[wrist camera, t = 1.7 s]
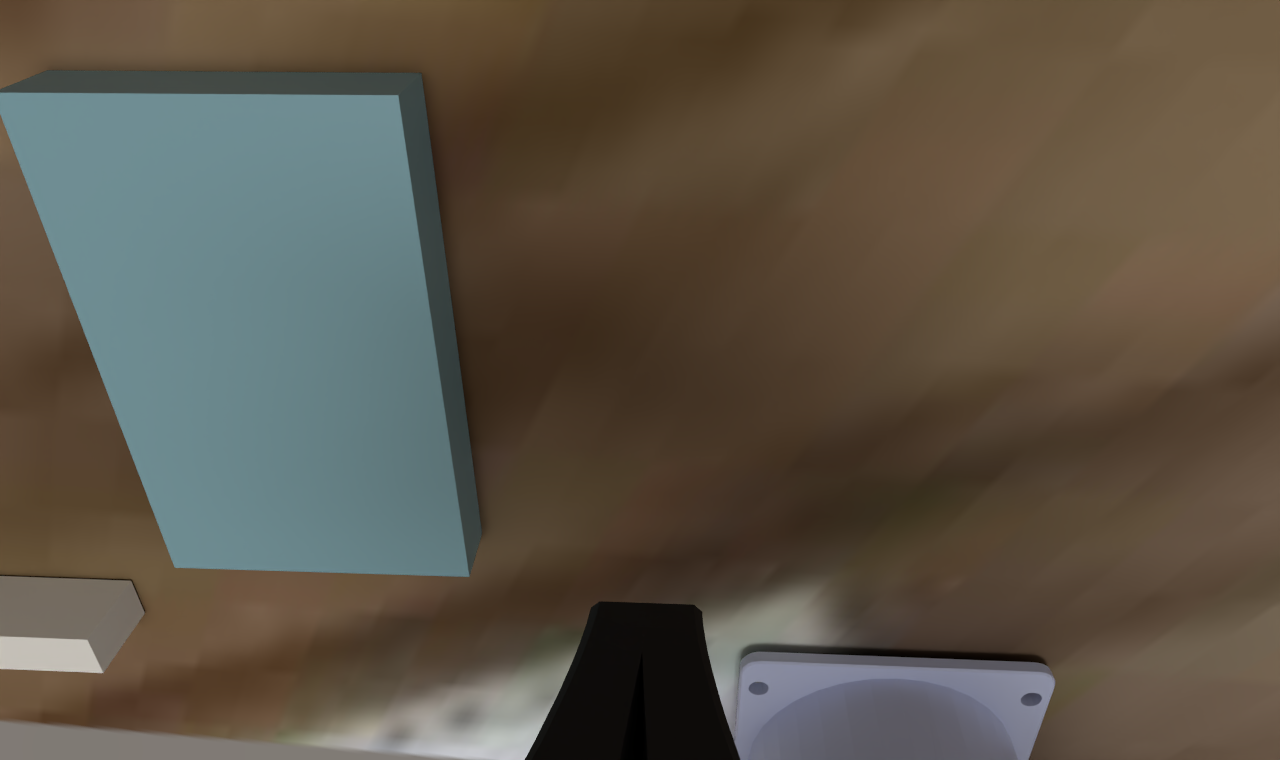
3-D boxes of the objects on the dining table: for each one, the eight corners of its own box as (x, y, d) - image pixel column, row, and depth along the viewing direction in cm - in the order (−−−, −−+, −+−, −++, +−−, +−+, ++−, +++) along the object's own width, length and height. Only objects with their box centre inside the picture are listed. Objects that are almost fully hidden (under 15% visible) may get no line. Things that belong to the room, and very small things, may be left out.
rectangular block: (486, 519, 23) (469, 576, 21) (212, 511, 23) (175, 567, 21) (428, 66, 17) (397, 95, 15) (62, 64, 17) (-9, 92, 15)
